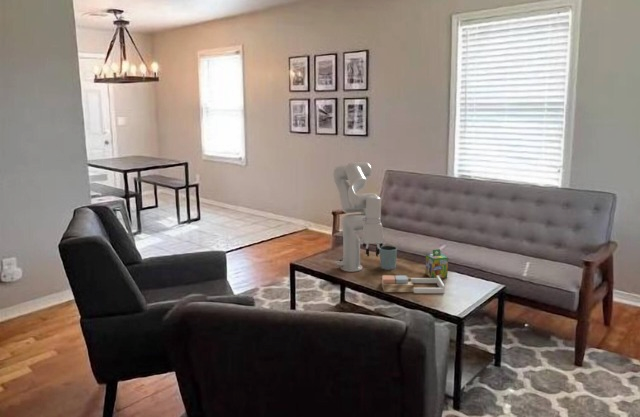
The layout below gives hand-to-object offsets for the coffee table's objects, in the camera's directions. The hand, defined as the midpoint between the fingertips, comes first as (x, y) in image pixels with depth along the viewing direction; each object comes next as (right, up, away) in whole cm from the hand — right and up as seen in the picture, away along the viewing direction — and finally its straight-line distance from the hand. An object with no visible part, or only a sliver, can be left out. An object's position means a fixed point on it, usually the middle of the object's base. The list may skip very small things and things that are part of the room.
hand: (372, 255), depth 256 cm
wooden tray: (+13, -17, +3) cm, 22 cm away
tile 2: (+15, -15, +3) cm, 21 cm away
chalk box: (+37, -13, +20) cm, 44 cm away
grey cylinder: (+12, -10, +35) cm, 38 cm away
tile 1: (+9, -15, +3) cm, 17 cm away
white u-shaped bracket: (+28, -17, +3) cm, 33 cm away
